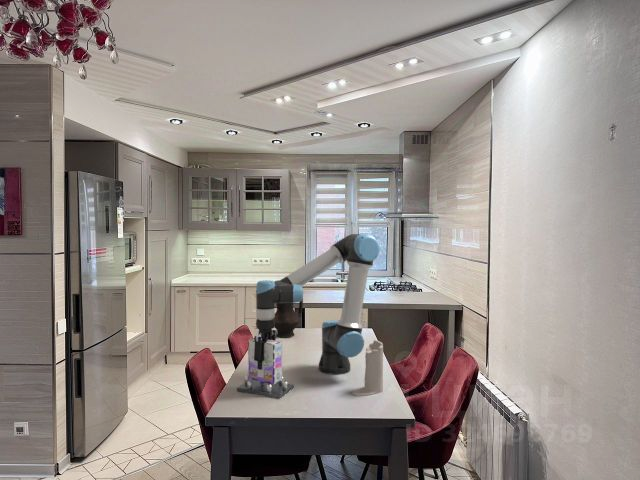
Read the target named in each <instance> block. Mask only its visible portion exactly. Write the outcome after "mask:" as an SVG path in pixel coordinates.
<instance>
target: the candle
mask: <svg viewBox="0 0 640 480" xmlns="http://www.w3.org/2000/svg"><path fill="white" fill-rule="evenodd" d="M364 357H365V368H364V369H365V372H364V386H363V387H360V388H357V389H355V390H354V391H352V392H351V394H353V395H354V396H357V397H359V396H369V395H370V396H371V395H374V394H378V393H379V394H380V393H382V392H383V391H384V344H383V342H382V341H379V340H378V339H373V343H370V344H369V345H368V346H367V347H366V348H365V356H364Z"/></svg>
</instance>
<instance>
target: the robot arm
mask: <svg viewBox="0 0 640 480" xmlns="http://www.w3.org/2000/svg"><path fill="white" fill-rule="evenodd" d="M380 250H381V247H380V243H379V241H378V240H377V239H376V237H374V236H373V235H370V234H368V233H367V234H366V233H360V234H359V233H353V234H349V235H346V236H344V237H343V238H341V239H340V240H338V241H337V242H335V243H334V244H332V245H331V246H330V249H328V250H326V251H325V252H323V253H322V254H320V255H318V256H317V257H315V258H314V259H312V260H310V261H309V262H307V263H305V264H304V265H302V266H301V267H299V268H297V269H296V270H295V271H293V272H291V273H289V274H288V275H286V276H285V277H284V278H281V279H279V280H275V281H274V280H268V279H267V280H259V281H257V282H256V289H255V294H256V295H255V296H256V297H255V298H256V300H255V301H256V302H255V303H256V307H255V309H256V310H255V313H256V314H255V315H256V316H255V317H256V319H255V320H256V322H255V327H256V329H258V332H257V333H258V334H257V335H254V340H255V350H254V361H257V362H258V377H264V361H263V358H264V344H265V343H266V342H267V341H268V340H275V341H277V339H276V335H277V330H276V329H275V319H274V317H275V313H276V312H275V310H276V309H275V308H276V307H275V305H276V304H277V303H293V304H296V303H299V302H301V301H302V299H303V300H304V290H303V289H304V288H303V286H304V285H306V284H308V283H309V282H311V281H313V280H314V279H316V278H317V277H319V276H320V275H321V274H323V273H325V272H326V271H328V270H329V269H331V268H333V267H334V266H337V264H343V263H345V262H346V263H347V265H348V266H349V267H348V273H347V280H346V286H345V292H344V298H343V302H342V303H343V304H342V308H341V316H340V319H335V320H326V321H323V322H322V326H321V356H320V359H319V361H318V371H319V372H321V373H323V374H327V375H341V374H342V375H343V374H346V373H349V372H350V371H351V362H350V358H354V357H357V356H358V355H359V354H361V353H362V351H363V349H364V347H365V339H364V336H363V334H362V332H363V326H362V324H361V319H362V310H363V305H364V301H365V300H364V298H365V293H366V287H367V282H368V274H369V270H371V268H372V267H373V266H374V260H376V259H377V258H378V256H379V254H380Z"/></svg>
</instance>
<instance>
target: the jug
mask: <svg viewBox="0 0 640 480" xmlns="http://www.w3.org/2000/svg"><path fill="white" fill-rule="evenodd" d="M298 305H299V306H298V312H297V313H296V311H295V310H294V303H276V312H275V317H274V319H275V327H274V329H275V330H276V336H277V337H279V338H291V337H294V336H295V333H294V331H295V329H296V328H297V326H298V325H299V324H300V322H301V317H302V313H303V308H304V298H303V299H302V301H301V302H298Z"/></svg>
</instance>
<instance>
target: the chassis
mask: <svg viewBox="0 0 640 480" xmlns="http://www.w3.org/2000/svg"><path fill="white" fill-rule="evenodd" d="M293 388H295V384H292V383H288V381H287V380H284V376H283V375H282V381H280V382H278V383H276V384H270V383H265V382H261V381H257V380H252V379H249V374H246V375H244V383H242V384H240V385H239V386H238V387H236V392H240V393H244V394H251V395H255V396H256V395H257V396H261V395H262V397H267V396H268V398H273V397H274V399H279V398H281V399H282V398H283V397H284V396H286V395H287V394H288V393H290V392H291V391H292V390H293ZM290 390H291V391H290ZM289 391H290V392H289ZM285 394H286V395H285Z"/></svg>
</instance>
